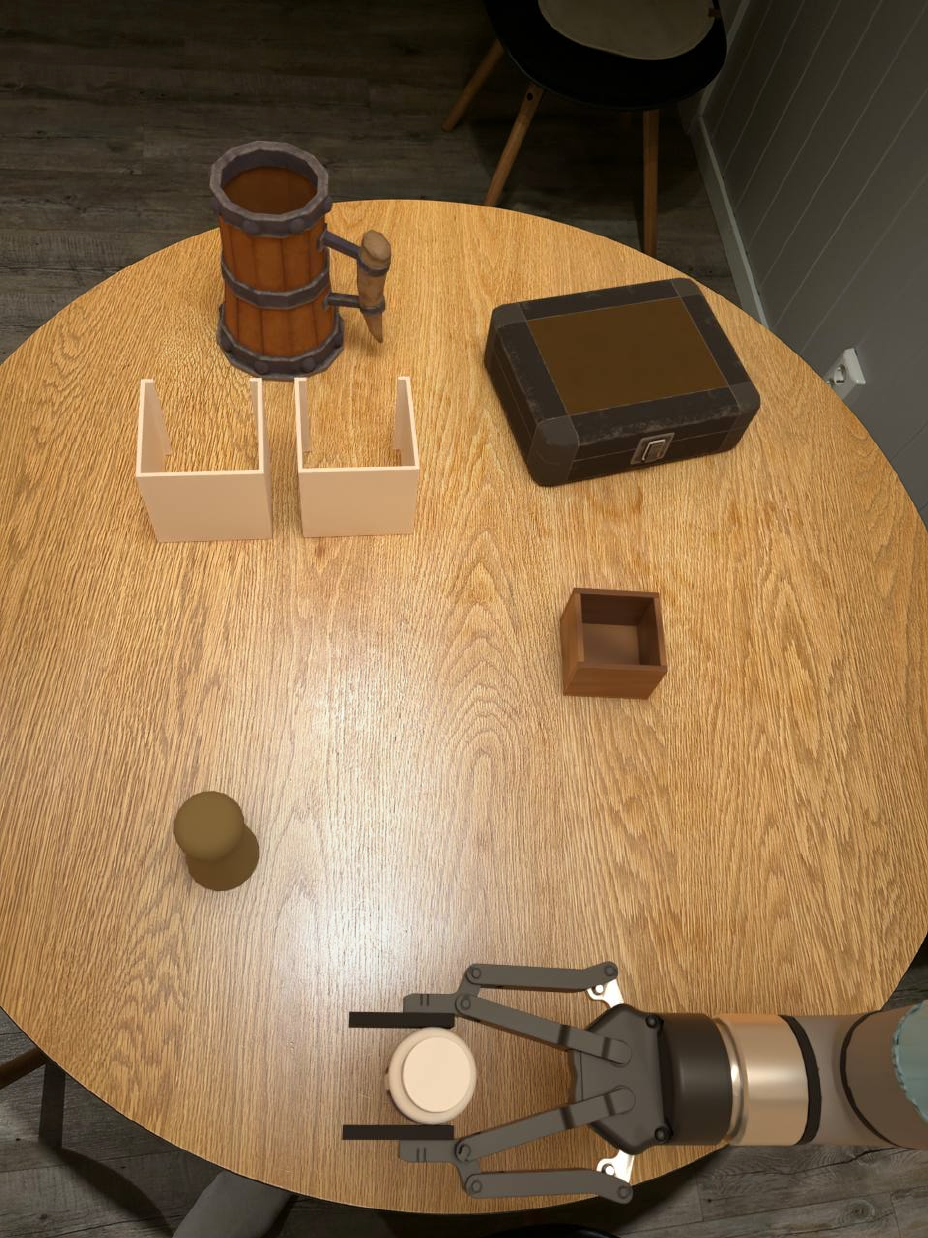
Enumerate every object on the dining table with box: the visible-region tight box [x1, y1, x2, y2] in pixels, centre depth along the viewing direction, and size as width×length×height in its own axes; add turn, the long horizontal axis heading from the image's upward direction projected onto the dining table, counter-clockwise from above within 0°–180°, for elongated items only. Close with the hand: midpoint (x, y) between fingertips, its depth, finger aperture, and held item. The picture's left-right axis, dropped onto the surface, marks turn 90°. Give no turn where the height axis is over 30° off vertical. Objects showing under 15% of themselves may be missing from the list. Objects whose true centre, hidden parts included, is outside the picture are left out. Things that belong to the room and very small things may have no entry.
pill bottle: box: [383, 1027, 478, 1125], centre depth 58 cm, size 5×5×10 cm
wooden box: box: [559, 587, 669, 700], centre depth 89 cm, size 8×8×6 cm
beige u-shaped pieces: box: [135, 376, 421, 544], centre depth 91 cm, size 25×11×11 cm, turn 96°
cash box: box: [483, 276, 762, 487], centre depth 103 cm, size 25×20×8 cm
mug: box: [207, 140, 393, 383], centre depth 97 cm, size 19×14×20 cm
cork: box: [172, 790, 260, 892], centre depth 74 cm, size 6×6×11 cm
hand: (346, 1074), depth 57 cm, fingers closed on pill bottle, 5 cm apart
